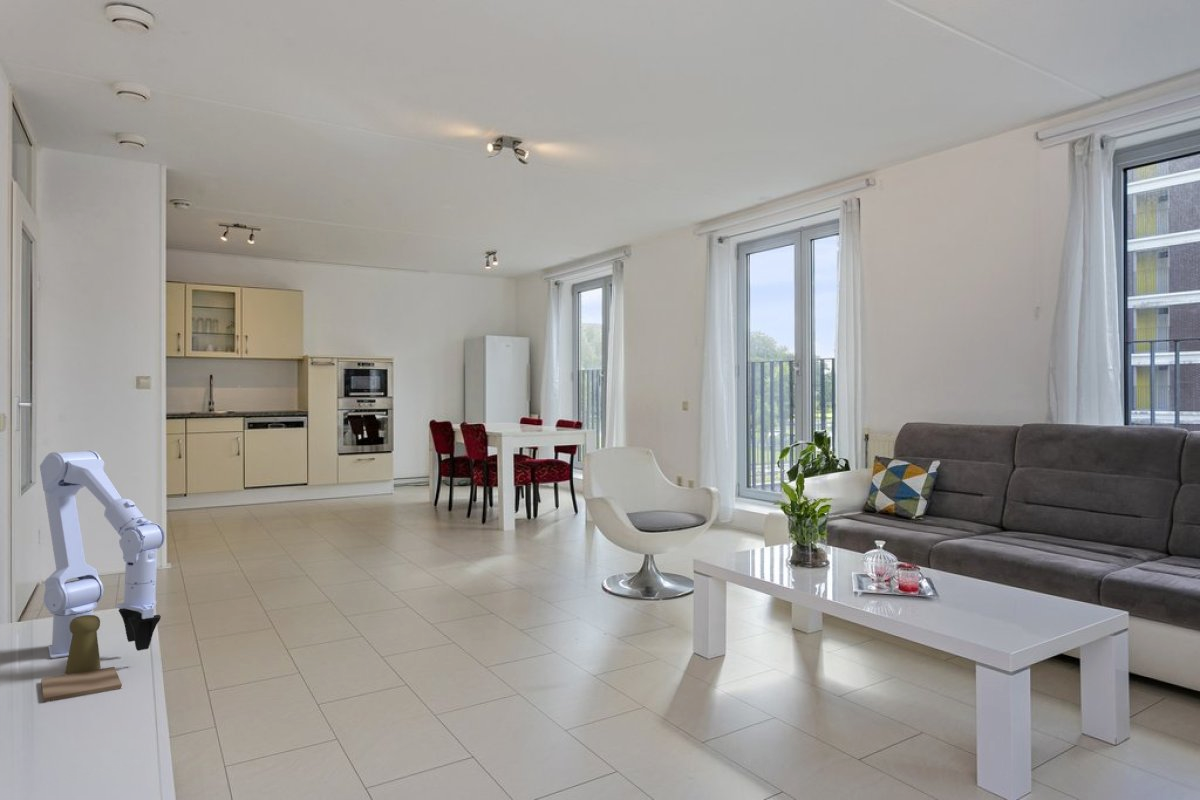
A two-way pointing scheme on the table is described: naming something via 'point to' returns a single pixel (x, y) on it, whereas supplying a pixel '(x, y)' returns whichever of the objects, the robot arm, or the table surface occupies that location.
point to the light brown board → (80, 684)
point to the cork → (83, 645)
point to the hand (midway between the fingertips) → (138, 645)
